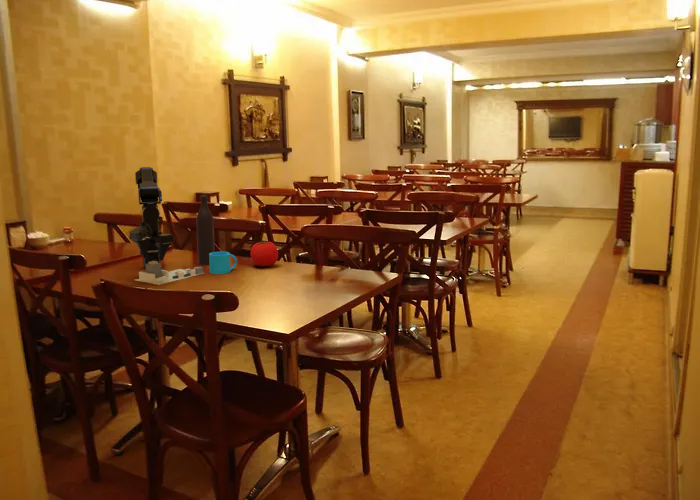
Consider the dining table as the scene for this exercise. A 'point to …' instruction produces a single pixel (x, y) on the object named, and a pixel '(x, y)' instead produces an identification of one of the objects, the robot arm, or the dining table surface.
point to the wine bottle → (204, 232)
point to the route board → (171, 274)
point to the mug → (221, 262)
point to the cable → (184, 276)
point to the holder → (153, 276)
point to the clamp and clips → (192, 272)
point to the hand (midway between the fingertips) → (153, 259)
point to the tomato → (264, 253)
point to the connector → (154, 268)
